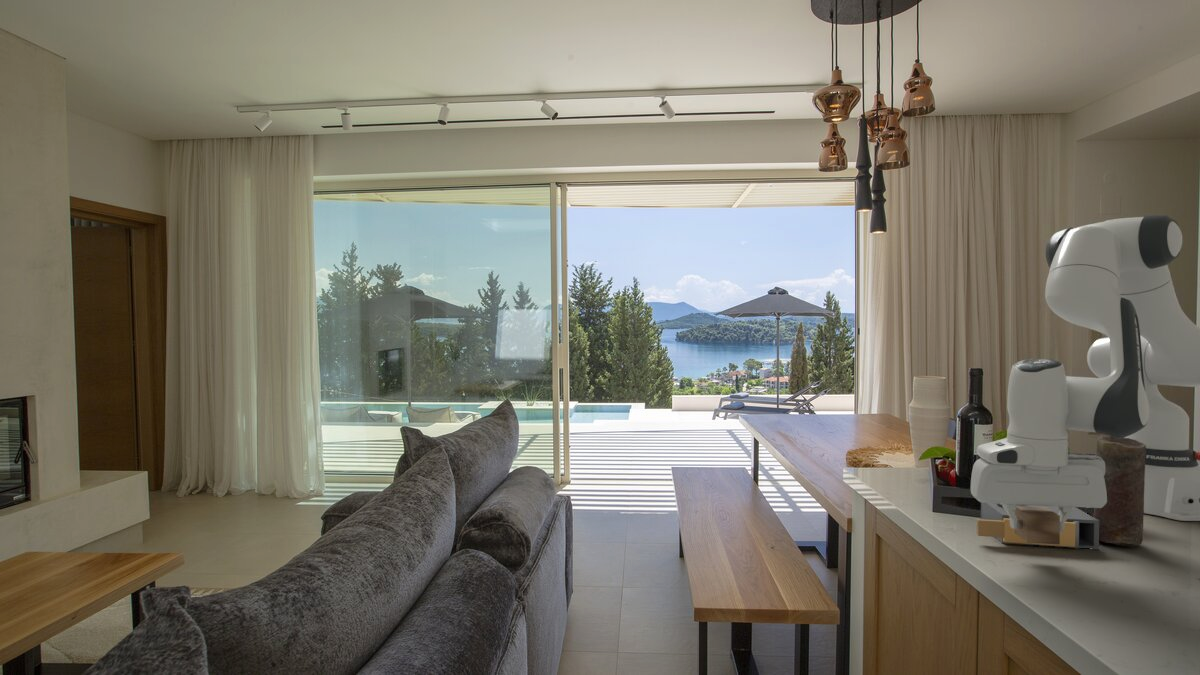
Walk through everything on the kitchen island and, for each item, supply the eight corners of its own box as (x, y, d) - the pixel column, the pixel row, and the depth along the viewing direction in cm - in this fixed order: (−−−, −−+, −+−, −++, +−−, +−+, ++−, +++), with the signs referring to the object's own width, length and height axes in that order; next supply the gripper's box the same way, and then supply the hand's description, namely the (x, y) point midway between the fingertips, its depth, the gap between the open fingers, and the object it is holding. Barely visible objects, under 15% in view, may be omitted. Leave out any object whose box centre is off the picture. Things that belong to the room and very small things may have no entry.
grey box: (1068, 530, 125) (1068, 500, 125) (1098, 549, 115) (1099, 517, 115) (980, 524, 129) (981, 495, 129) (1002, 543, 118) (1002, 511, 118)
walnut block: (1045, 534, 111) (1045, 507, 111) (1059, 544, 107) (1059, 515, 106) (1014, 532, 113) (1014, 505, 112) (1026, 542, 108) (1027, 514, 108)
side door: (1077, 546, 115) (1077, 521, 115) (1079, 548, 114) (1080, 522, 114) (976, 540, 119) (976, 515, 119) (978, 541, 118) (978, 516, 118)
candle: (1136, 539, 120) (1137, 437, 119) (1150, 552, 113) (1152, 444, 113) (1087, 534, 123) (1088, 434, 122) (1098, 546, 116) (1100, 440, 116)
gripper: (1094, 449, 110) (1094, 526, 110) (967, 446, 114) (967, 520, 115) (1115, 457, 104) (1115, 539, 104) (980, 453, 108) (979, 531, 109)
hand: (1036, 529), depth 110 cm, fingers closed on walnut block, 5 cm apart
